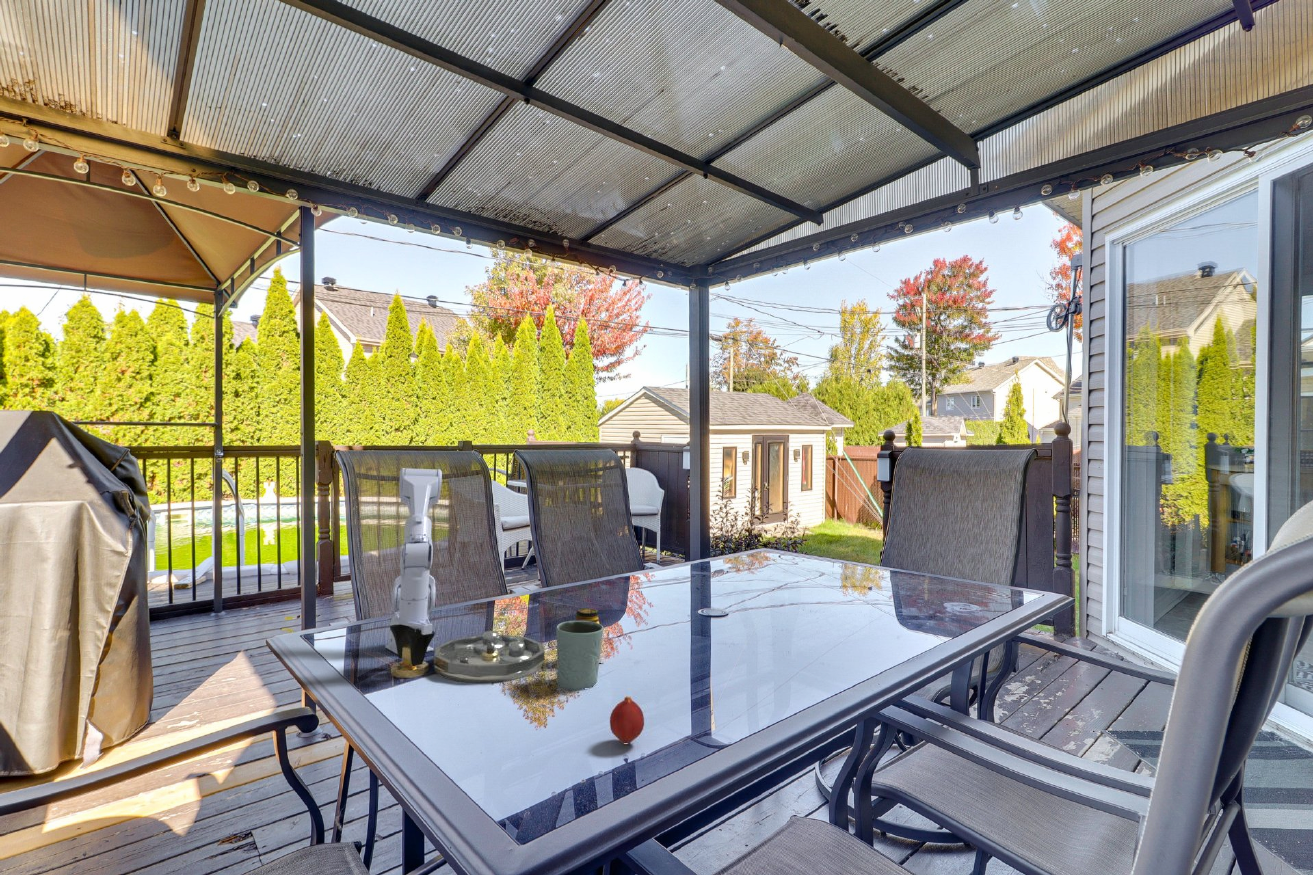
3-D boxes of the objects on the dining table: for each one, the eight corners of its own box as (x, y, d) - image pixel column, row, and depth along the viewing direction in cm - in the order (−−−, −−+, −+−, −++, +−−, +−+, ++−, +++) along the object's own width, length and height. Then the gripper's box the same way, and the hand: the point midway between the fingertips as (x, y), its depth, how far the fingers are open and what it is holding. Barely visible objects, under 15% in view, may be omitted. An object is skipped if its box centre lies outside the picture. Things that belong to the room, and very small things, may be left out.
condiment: (604, 663, 147) (606, 612, 148) (571, 668, 142) (574, 615, 143) (590, 655, 153) (592, 605, 154) (558, 659, 149) (561, 608, 149)
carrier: (415, 661, 142) (416, 637, 143) (506, 643, 160) (507, 621, 160) (468, 691, 126) (469, 663, 126) (563, 667, 143) (565, 643, 143)
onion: (608, 735, 108) (610, 688, 108) (642, 736, 108) (644, 689, 108) (609, 751, 102) (611, 701, 102) (644, 751, 102) (646, 701, 103)
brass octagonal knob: (386, 671, 135) (388, 645, 136) (417, 664, 140) (419, 640, 141) (400, 679, 130) (402, 653, 131) (432, 673, 135) (434, 647, 136)
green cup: (581, 672, 140) (584, 618, 141) (611, 684, 133) (613, 627, 134) (544, 681, 133) (546, 624, 134) (572, 695, 126) (575, 635, 126)
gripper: (381, 594, 138) (378, 656, 138) (410, 606, 128) (406, 673, 128) (412, 590, 143) (409, 650, 143) (443, 601, 133) (439, 666, 133)
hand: (410, 660), depth 135 cm, fingers open, 6 cm apart
